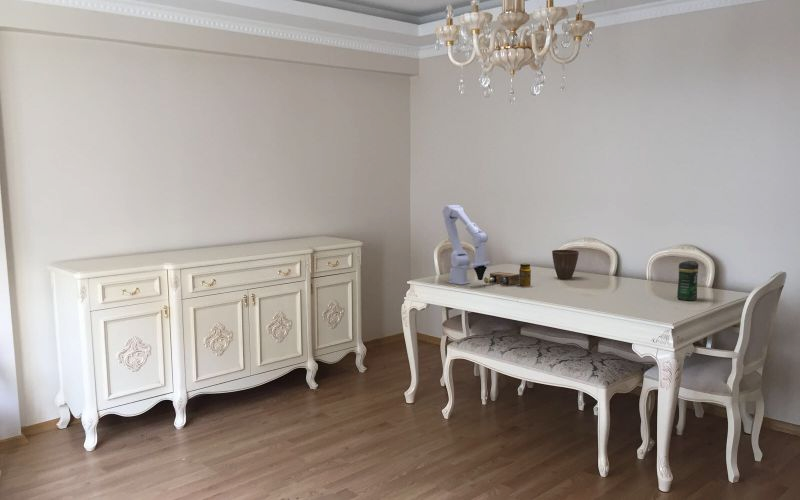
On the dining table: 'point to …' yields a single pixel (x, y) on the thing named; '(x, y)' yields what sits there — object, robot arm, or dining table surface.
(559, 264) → the plant pot
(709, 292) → the dining table surface
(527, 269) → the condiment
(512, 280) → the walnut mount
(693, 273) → the coffee jar
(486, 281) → the brass knob
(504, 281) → the black knob
